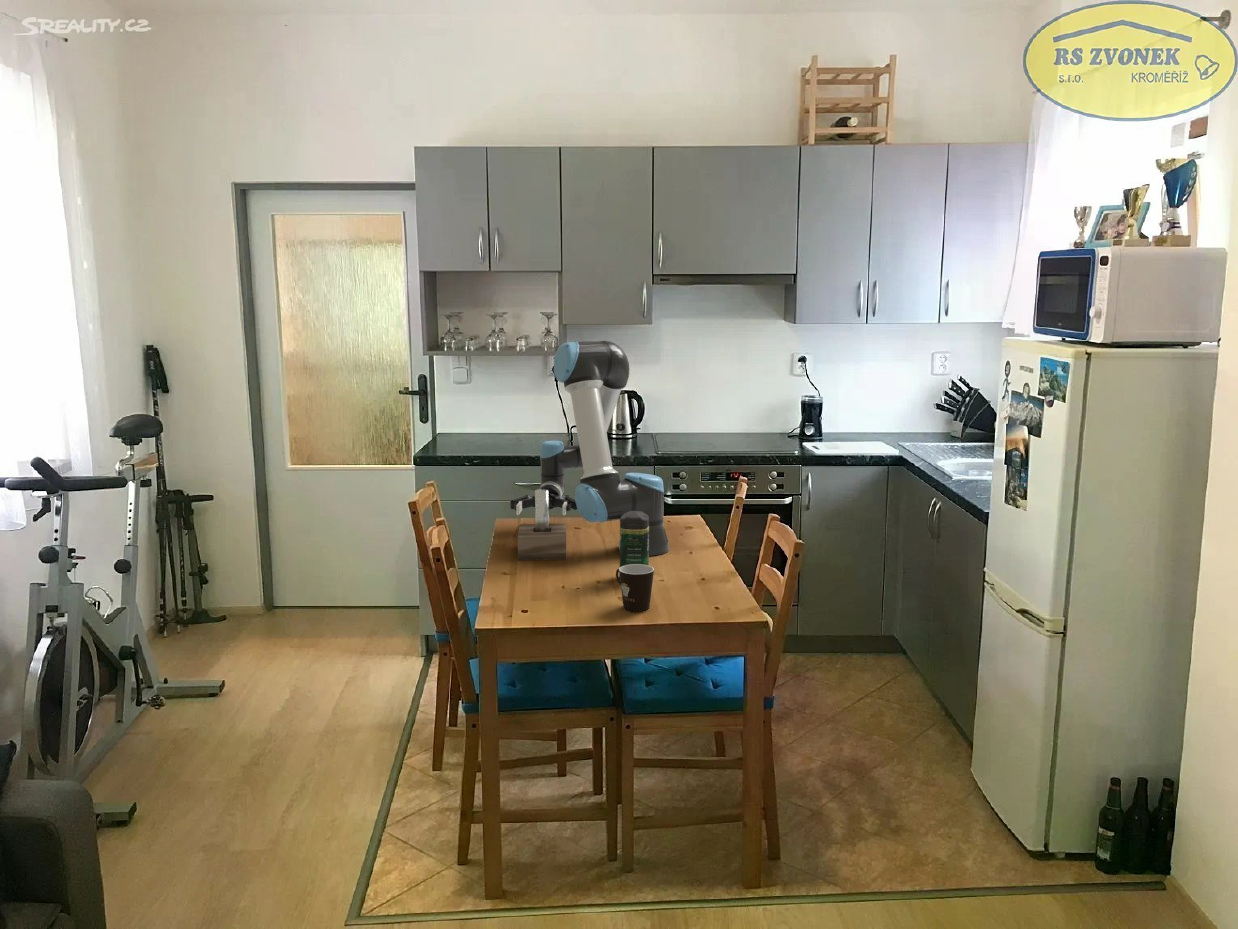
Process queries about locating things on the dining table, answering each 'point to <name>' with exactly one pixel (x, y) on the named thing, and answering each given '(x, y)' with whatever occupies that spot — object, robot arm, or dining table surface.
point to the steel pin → (542, 510)
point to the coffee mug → (635, 586)
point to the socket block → (542, 542)
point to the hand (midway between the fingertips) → (540, 510)
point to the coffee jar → (634, 538)
